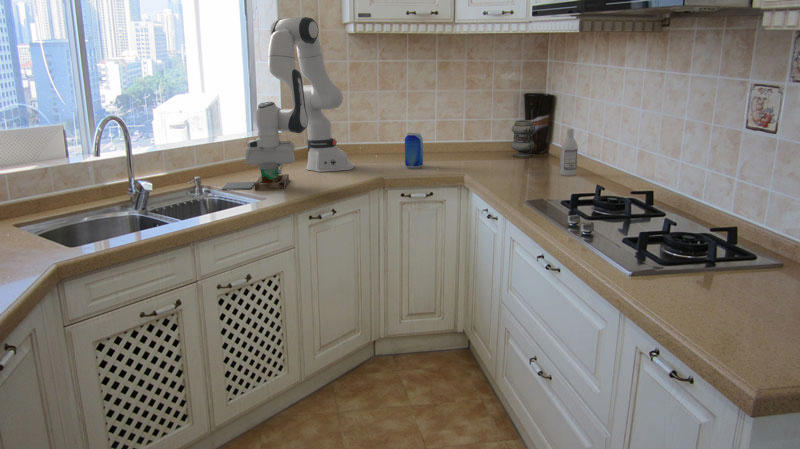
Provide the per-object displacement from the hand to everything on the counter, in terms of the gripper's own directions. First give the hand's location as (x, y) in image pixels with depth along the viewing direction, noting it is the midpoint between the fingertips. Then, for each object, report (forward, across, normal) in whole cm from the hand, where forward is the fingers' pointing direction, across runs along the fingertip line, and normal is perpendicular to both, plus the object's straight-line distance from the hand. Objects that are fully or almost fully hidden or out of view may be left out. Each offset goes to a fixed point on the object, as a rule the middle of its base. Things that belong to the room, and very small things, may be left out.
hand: (271, 174), depth 273 cm
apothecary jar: (+5, -120, -48) cm, 129 cm away
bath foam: (+5, -129, -1) cm, 129 cm away
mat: (+5, +14, +1) cm, 15 cm away
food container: (+5, -1, 0) cm, 5 cm away
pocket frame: (+5, 0, 0) cm, 5 cm away
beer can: (+5, -63, -28) cm, 69 cm away
